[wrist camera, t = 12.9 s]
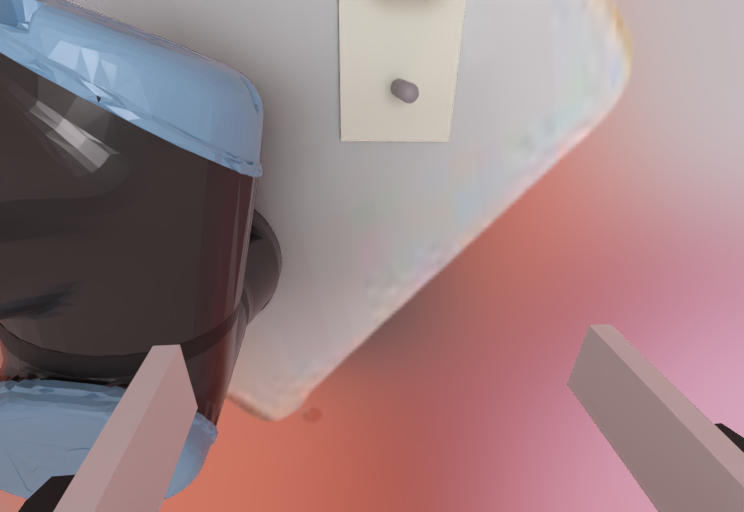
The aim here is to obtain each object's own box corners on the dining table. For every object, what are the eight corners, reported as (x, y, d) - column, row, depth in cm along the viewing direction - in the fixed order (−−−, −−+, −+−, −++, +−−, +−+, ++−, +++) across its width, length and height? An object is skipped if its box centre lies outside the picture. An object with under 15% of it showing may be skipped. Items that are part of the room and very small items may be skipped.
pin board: (340, 139, 35) (342, 154, 29) (336, -127, 26) (338, -172, 21) (446, 139, 36) (466, 154, 30) (475, -117, 27) (510, -157, 22)
